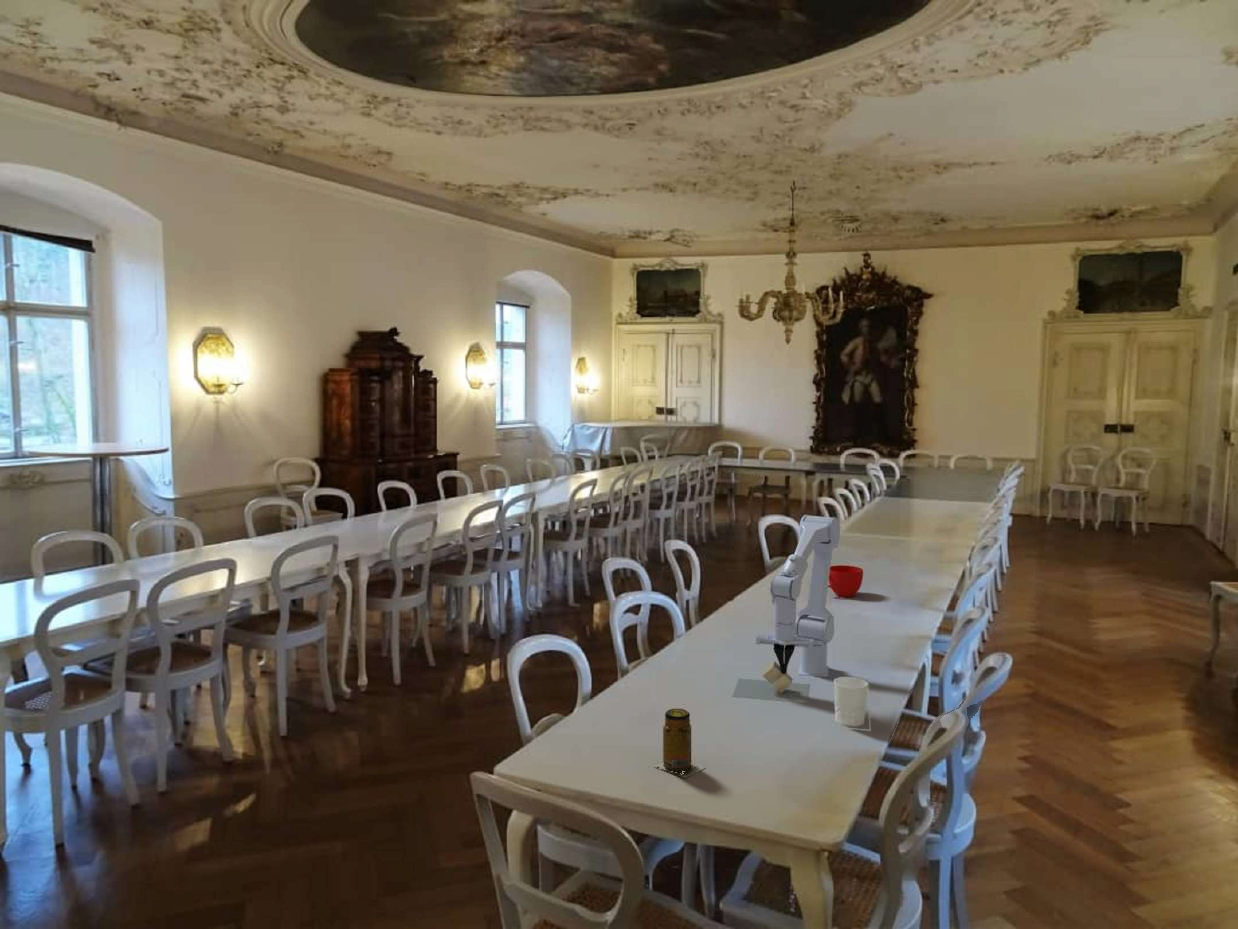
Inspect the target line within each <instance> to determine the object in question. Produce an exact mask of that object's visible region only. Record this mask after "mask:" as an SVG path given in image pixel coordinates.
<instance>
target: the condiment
mask: <svg viewBox="0 0 1238 929" xmlns="http://www.w3.org/2000/svg"><path fill="white" fill-rule="evenodd" d="M664 717H665V718H664V724H663V726H662V733H663V734H662V742H663V743H662V754H663V756H662V762H663V763H664V764H660V763H658V764H656V765H654V766H653V767H654V768H657V767H659V766H662V765H663V766H664V767H665V769H666V771H670V772H668V773H670V774H672V775H675V776H677V777H682V778H684V779H686V778H688V777H691V776H693V775H695V774H698V772H700V771H702V770H704V769H705V768H707V767H706V766H704V765H701V764H699V763H696V762H692V724H691V723H690V722H691V718H690V717H691V714H690V712H689V711H688V710H687V709H684V708H677V707H676V708H671V709H667V710H666V711H665V714H664ZM693 766H694V767H693ZM691 767H693V768H691ZM662 769H663V770H662ZM658 770H662V771H664V768H658ZM666 771H665V772H666ZM671 771H673V772H671ZM682 771H685V772H683V773H684V774H682ZM675 772H677V773H675ZM680 773H681V774H682V775H681V774H680Z"/></svg>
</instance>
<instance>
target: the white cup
mask: <svg viewBox="0 0 1238 929" xmlns="http://www.w3.org/2000/svg"><path fill="white" fill-rule="evenodd" d="M868 685H869V683H868V682H867V681H866V680H865V679H863V678H860V677H857V676H839V677H836V678H834V680H833V698H834V699H833V701H834V702H833V703H834V714H835V715H834V716H835V717H834V719H835V722H836V723H838V724H840V725H842V726H846V727H861V726H862V725H864V724H865V718H866V710H867V709H866V708H867V702H868V701H867V698H868Z"/></svg>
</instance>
